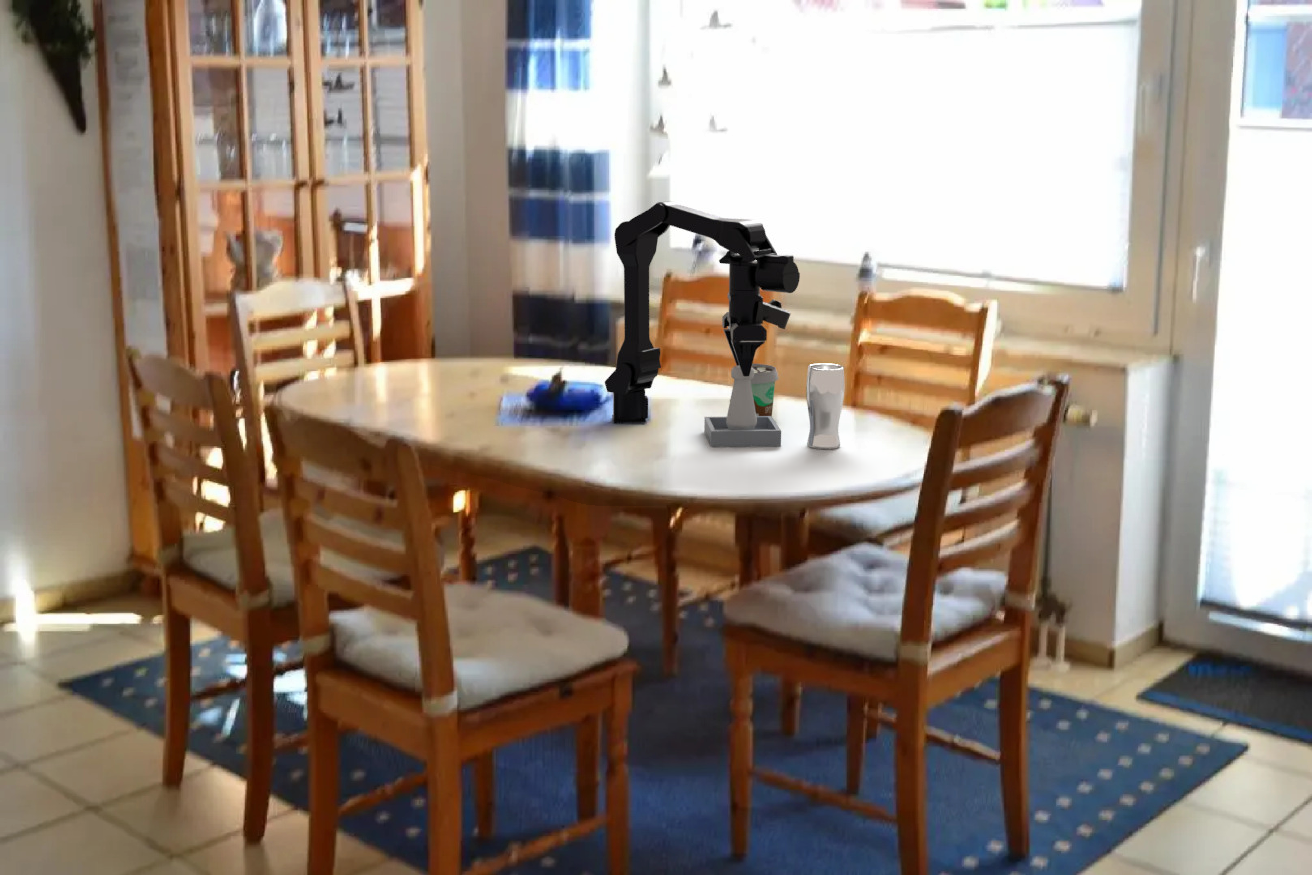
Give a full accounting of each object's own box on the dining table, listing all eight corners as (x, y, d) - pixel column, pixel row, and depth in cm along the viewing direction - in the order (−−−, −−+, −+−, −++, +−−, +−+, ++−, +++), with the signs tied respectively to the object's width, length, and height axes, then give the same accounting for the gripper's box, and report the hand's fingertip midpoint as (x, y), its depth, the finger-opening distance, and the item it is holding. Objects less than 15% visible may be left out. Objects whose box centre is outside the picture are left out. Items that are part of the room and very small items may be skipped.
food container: (773, 424, 309) (774, 374, 307) (742, 423, 310) (743, 373, 308) (781, 412, 321) (782, 364, 319) (751, 410, 322) (752, 362, 320)
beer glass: (832, 451, 286) (834, 371, 283) (798, 447, 290) (800, 367, 286) (848, 444, 292) (851, 365, 289) (815, 440, 296) (817, 362, 292)
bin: (711, 447, 289) (711, 431, 289) (704, 431, 302) (704, 416, 301) (780, 446, 290) (781, 430, 290) (771, 431, 303) (771, 416, 302)
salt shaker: (736, 438, 292) (737, 369, 289) (720, 432, 297) (721, 365, 294) (762, 435, 295) (764, 367, 292) (746, 429, 300) (747, 362, 297)
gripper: (795, 295, 281) (793, 380, 285) (780, 282, 300) (778, 363, 303) (733, 295, 281) (732, 381, 284) (722, 283, 299) (721, 363, 302)
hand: (743, 371), depth 293 cm, fingers open, 9 cm apart
